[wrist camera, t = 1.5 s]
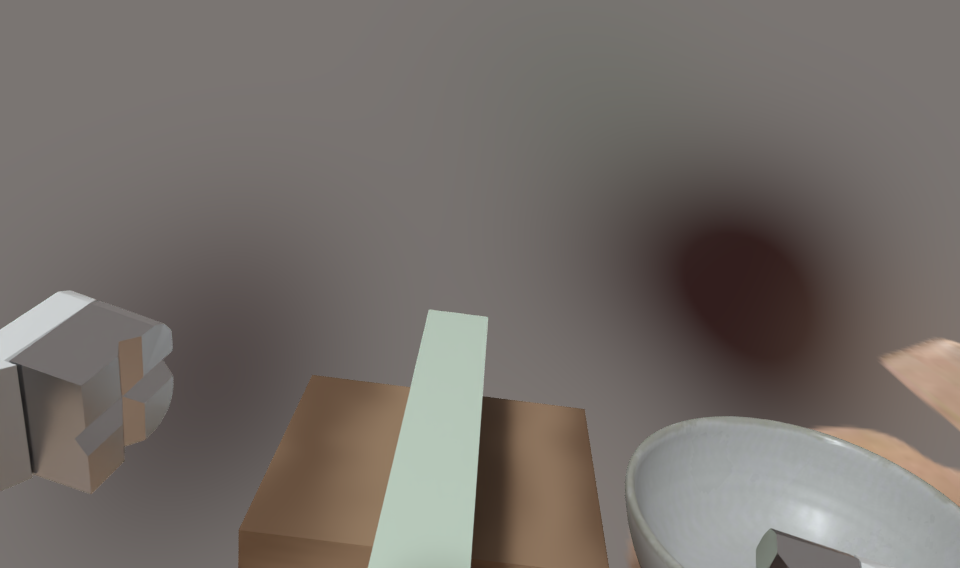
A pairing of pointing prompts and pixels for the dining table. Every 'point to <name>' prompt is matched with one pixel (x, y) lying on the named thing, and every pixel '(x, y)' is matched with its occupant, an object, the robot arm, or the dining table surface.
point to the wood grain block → (366, 469)
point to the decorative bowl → (778, 497)
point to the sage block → (436, 451)
